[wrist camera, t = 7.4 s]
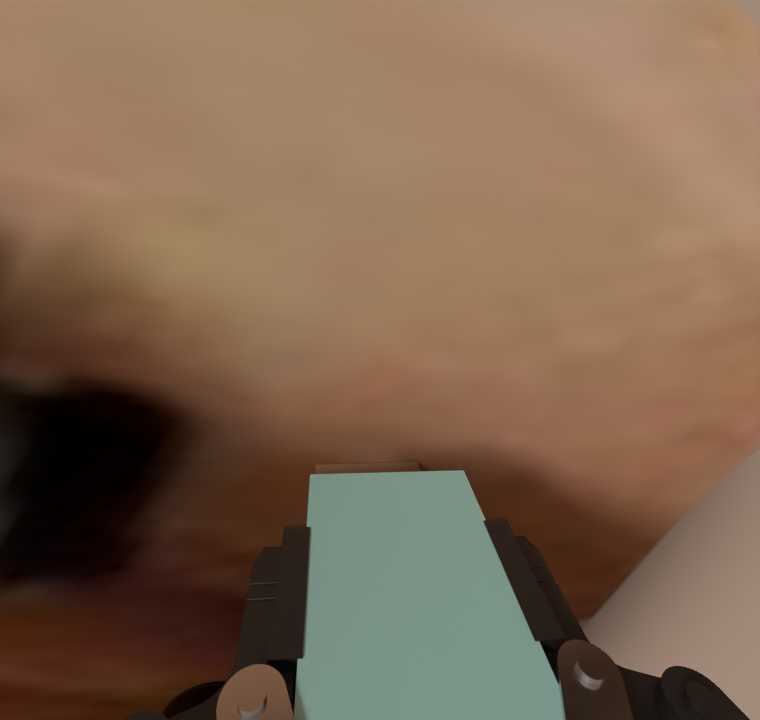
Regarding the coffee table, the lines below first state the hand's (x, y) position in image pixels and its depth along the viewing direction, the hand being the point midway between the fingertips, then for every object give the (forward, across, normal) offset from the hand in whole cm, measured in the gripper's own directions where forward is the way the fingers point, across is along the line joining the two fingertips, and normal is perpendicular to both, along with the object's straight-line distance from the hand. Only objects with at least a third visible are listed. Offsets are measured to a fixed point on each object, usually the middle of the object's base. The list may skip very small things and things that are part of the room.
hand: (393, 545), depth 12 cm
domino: (+2, 0, 0) cm, 2 cm away
